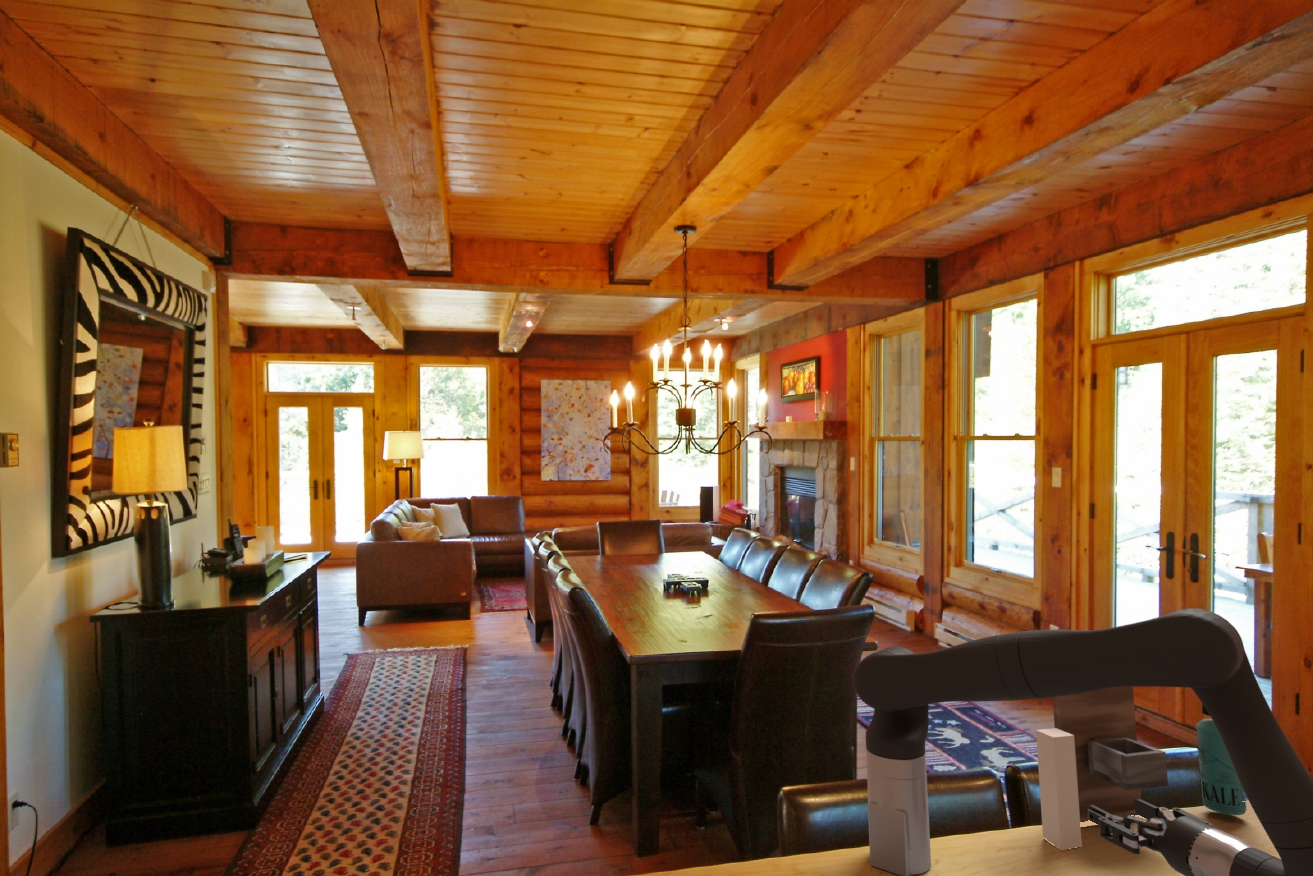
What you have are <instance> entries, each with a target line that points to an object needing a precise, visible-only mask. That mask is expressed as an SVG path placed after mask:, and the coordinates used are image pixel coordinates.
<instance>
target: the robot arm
mask: <svg viewBox="0 0 1313 876" xmlns="http://www.w3.org/2000/svg"><path fill="white" fill-rule="evenodd" d="M852 678H853V679H852V681H853V682H852V684H853V688H854V691H855V693H856V694H857V696H858V698H859V699H860V700H861V701H862V702H863V703H864V704H865V705H867V706H868V707H870V708H872V709H873V710H874V711H873V715H872V718H871V721H870V723H869V725H868V726H867V728H866V731H865V753H866V754H865V757H866V778H867V779H866V780H867V801H868V802H867V803H868V804H867V816H868V822H867V823H868V838H869V839H868V845H869V858H870V859H869V863H870V866H873V867H874V868H878V869H881V870H884V871H887V872H889V873H893V874H896V875H898V876H913V875H920V874H924V873H926V872H927V871H929V870H930V869H931V867H932V855H931V839H930V838H931V836H930V820H929V819H930V817H929V801H928V798H929V797H928V796H929V795H928V777H927V759H926V757H927V756H926V741H927V737H928V733H929V728H930V727H929V724H930V723H929V722H930V721H929V720H930V718H929V715H930V712H929V709H930V708H929V707H930V706H929V705H931V704H938V703H946V702H947V703H949V702H951V703H953V702H957V703H959V702H961V703H963V702H965V703H966V702H967V703H968V702H973V703H977V702H979V703H980V702H1005V701H1006V702H1007V701H1008V702H1009V701H1011V702H1012V701H1013V702H1014V701H1026V700H1040V699H1047V698H1049V699H1050V698H1053V697H1058V696H1066V695H1073V694H1080V693H1085V692H1091V691H1096V690H1101V689H1107V688H1114V687H1133V688H1134V687H1135V688H1136V687H1139V688H1140V687H1141V688H1142V687H1145V688H1146V687H1147V688H1149V687H1150V688H1151V687H1156V688H1157V687H1161V688H1190V689H1192V691H1193V692H1194V693H1195V695H1196V697H1197V698H1198V699H1199V700H1200V702H1201V704H1202V703H1203V705H1204V707H1205V708H1206V710H1207V711H1208V713H1209V715H1210V716H1209V717H1210V719H1212V720H1213V722H1214V723H1215V725H1216V727H1217V729H1218V731H1219V733H1220V735H1221V737H1222V740H1223V742H1224V744H1225V746H1226V748H1227V751H1228V753H1229V756H1230V758H1231V760H1232V763H1233V765H1234V768H1235V770H1236V773H1237V775H1238V778H1239V780H1240V783H1241V785H1242V787H1243V789H1244V792H1245V797H1246V799H1247V800H1248V802H1249V804H1250V806H1251V809H1253V811H1254V813H1255V815H1256V817H1257V818H1258V820H1259V823H1260V825H1261V826H1262V828H1263V830H1264V831H1265V833H1266V835H1267V836H1268V838H1269V840H1270V842H1271V844H1272V845H1273V848H1274V849H1275V850H1276V852H1277V854H1278V856H1279V857H1277V856H1275V855H1272V854H1270V853H1268V852H1265V851H1264V850H1261V849H1259V848H1257V847H1255V846H1254V845H1251V844H1250V843H1249V842H1247V841H1245V840H1244V839H1242V838H1239V837H1237V836H1235V835H1232V834H1231V833H1228V832H1226V831H1225V830H1222V829H1219V828H1217V827H1215V826H1213V824H1212V822H1209V821H1207V820H1205V819H1203V818H1201V817H1199V816H1198V815H1197V816H1196V815H1195V814H1192V813H1190V812H1188V811H1186V810H1184V809H1182V808H1179V807H1173V808H1172V810H1169V808H1167V807H1164V806H1159V807H1158V806H1156V805H1154V804H1152V803H1149V802H1147V801H1145V800H1143V799H1142V800H1141V799H1135V800H1134V806H1135V812H1136V813H1137V814H1138V815H1140V816H1142V817H1144V818H1146V819H1143V818H1139V817H1135V816H1130V815H1126V816H1125V817H1119V816H1115V815H1111V814H1110V813H1108V812H1106V811H1104V810H1102V809H1100V808H1098V807H1096V806H1094V805H1088V806H1087V812H1088V819H1089V820H1090V821H1092V822H1094V823H1096V824H1098V825H1099V837H1101V838H1102V839H1104V840H1106V841H1108V842H1110V843H1112V844H1114V845H1116V846H1118V847H1120V848H1122V849H1124V850H1126V851H1127V852H1129V853H1131V854H1133V855H1140V854H1141V849H1140V848H1147V849H1149V850H1151V851H1154V852H1158V853H1160V854H1161V856H1162V857H1163V858H1164V860H1166V862H1167V863H1168V865H1169V866H1170V868H1171V869H1173V870H1174V871H1175V872H1177V873H1179V874H1181V875H1182V876H1313V777H1312V776H1311V774H1310V772H1309V770H1307V768H1306V767H1305V764H1304V763H1303V761H1302V760H1301V759H1300V757H1299V755H1298V753H1297V752H1296V750H1295V749H1294V747H1293V745H1292V744H1291V743H1290V740H1289V739H1288V737H1287V736H1286V734H1285V733H1284V730H1283V729H1282V727H1281V725H1280V724H1279V723H1278V720H1277V718H1276V716H1275V715H1274V712H1273V711H1272V709H1271V707H1270V705H1269V704H1268V701H1267V700H1266V698H1265V696H1264V694H1263V692H1262V690H1261V688H1260V685H1259V683H1258V681H1257V680H1258V679H1257V678H1256V675H1255V674H1254V671H1253V669H1252V665H1251V663H1250V660H1249V658H1248V655H1247V652H1246V650H1245V647H1244V642H1243V639H1242V637H1241V635H1240V633H1239V632H1238V629H1236V627H1235V626H1234V625H1233V624H1232V623H1231V622H1230V621H1228V620H1227V619H1226V618H1224V617H1222V616H1221V615H1219V614H1217V613H1215V612H1213V611H1209V610H1207V609H1204V608H1203V609H1202V608H1197V607H1195V608H1194V607H1193V608H1192V607H1191V608H1183V609H1178V610H1175V611H1172V612H1169V613H1167V614H1164V615H1161V616H1158V617H1154V618H1150V619H1147V620H1142V621H1137V622H1134V623H1128V624H1124V625H1123V624H1122V625H1118V626H1114V627H1113V626H1112V627H1109V628H1104V629H1094V630H1093V629H1091V630H1090V629H1089V630H1083V629H1035V630H1024V631H1017V632H1009V633H1001V634H997V635H990V636H987V637H981V638H977V639H974V640H970V641H967V642H963V643H959V644H956V645H953V646H950V647H947V648H944V649H940V650H936V651H932V652H931V651H930V652H923V653H914V652H913V651H912V650H910V649H908V648H905V647H903V646H890V647H887V648H884V649H880V650H878V651H876V652H872V653H870V654H868V655H866V656H865V657H864V658H863V659H861V661H860V662H859V663H858V665H857V666H856V667H855V669H854V673H853V676H852ZM1116 822H1118V823H1116ZM1133 824H1137V825H1136V827H1137V832H1136V831H1134V830H1133Z"/></svg>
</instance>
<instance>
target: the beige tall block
mask: <svg viewBox="0 0 1313 876" xmlns="http://www.w3.org/2000/svg"><path fill="white" fill-rule="evenodd" d="M1035 737H1036V749H1037V750H1036V751H1037V765H1038V779H1039V794H1040V795H1039V797H1040V809H1041V810H1040V812H1041V814H1040V815H1041V825H1042V826H1041V827H1042V838H1043V837H1044V838H1046V839H1047V840H1048V841H1049V842H1051V843H1053V844H1054V845H1055V846H1056V847H1058V848H1059V849H1060V850H1059V849H1058V848H1057V849H1058V850H1059V851H1061V850H1063V851H1068V850H1067V849H1069V848H1075V847H1082V848H1083V844H1082V843H1083V841H1082V833H1081V832H1082V830H1081V829H1082V828H1081V827H1080V813H1079V799H1078V784H1077V770H1076V756H1075V742H1074V735H1072V734H1069V733H1067V732H1064V731H1062V730H1060V729H1057V728H1055V727H1052V728H1043V729H1036V730H1035ZM1056 847H1055V848H1056ZM1065 849H1066V850H1065Z"/></svg>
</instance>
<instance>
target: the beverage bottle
mask: <svg viewBox="0 0 1313 876" xmlns="http://www.w3.org/2000/svg"><path fill="white" fill-rule="evenodd" d="M1201 704H1202V705H1201V713H1202V715H1205V716H1209V717H1211V716H1210V715H1209V713H1208V711H1207V710H1206V708H1205V707H1204V705H1203V703H1202V702H1201ZM1195 727H1196V735H1197V736H1196V737H1197V738H1196V742H1197V745H1196V748H1197V757H1198V766H1199V768H1198V773H1199V775H1200V776H1199V782H1200V783H1199V785H1200V786H1199V787H1200V797H1201V798H1200V799H1202V800H1201V801H1202V803H1203V805H1204V807H1205V808H1207V809H1209V810H1210V811H1213V812H1216V813H1220V814H1223V815H1229V816H1230V815H1231V816H1243V815H1245V814H1246V811H1247V806H1246V805H1247V803H1246V802H1247V796H1246V794H1245V792H1244V789H1243V787H1242V785H1241V783H1240V780H1239V778H1238V775H1237V773H1236V770H1235V768H1234V765H1233V763H1232V760H1231V758H1230V756H1229V753H1228V751H1227V748H1226V746H1225V744H1224V742H1223V740H1222V737H1221V735H1220V733H1219V731H1218V729H1217V727H1216V725H1215V723H1214V722H1213V720H1212V718H1203V719H1202V720H1199V722H1197V723H1196V726H1195ZM1242 801H1245V802H1242Z"/></svg>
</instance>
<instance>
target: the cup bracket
mask: <svg viewBox="0 0 1313 876" xmlns="http://www.w3.org/2000/svg"><path fill="white" fill-rule="evenodd" d="M1052 708H1053V722H1054V723H1053V724H1054V728H1057V729H1060V730H1062V731H1064V732H1067V733H1069V734H1072V735H1074V742H1075V756H1076V770H1077V784H1078V799H1079V813H1080V822H1085V821H1088V820H1089V819H1088V812H1087V806H1088V805H1094V806H1096V807H1098V808H1100V809H1102V810H1104V811H1106V812H1108V813H1110V814H1111V815H1115V816H1119V817H1125V816H1126V815H1130V816H1131V815H1134V816H1135V815H1138V814H1137V813H1136V812H1135V806H1134V800H1135V799H1141V800H1143V799H1142V790H1146V789H1152V788H1160V787H1161V788H1162V787H1168V786H1169V778H1168V767H1167V754H1166V753H1167V752H1166V751H1164V750H1161V749H1159V748H1155V747H1152V746H1151V745H1148V744H1144V743H1142V742H1139V741H1138V737H1137V724H1136V721H1137V720H1136V710H1135V698H1134V687H1114V688H1107V689H1101V690H1096V691H1091V692H1085V693H1080V694H1073V695H1066V696H1058V697H1052Z"/></svg>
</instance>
